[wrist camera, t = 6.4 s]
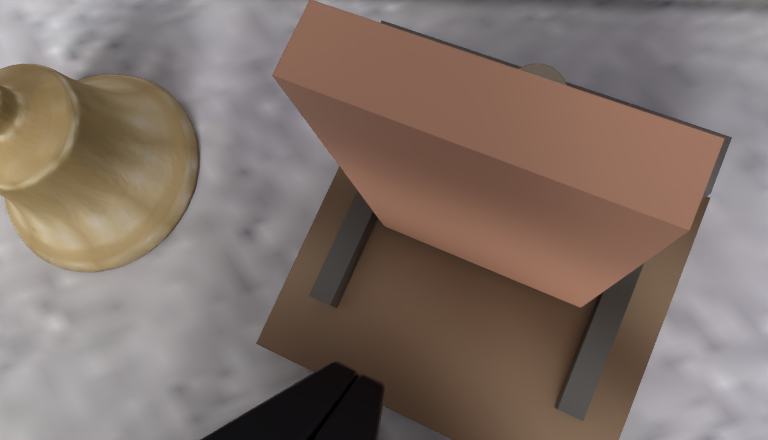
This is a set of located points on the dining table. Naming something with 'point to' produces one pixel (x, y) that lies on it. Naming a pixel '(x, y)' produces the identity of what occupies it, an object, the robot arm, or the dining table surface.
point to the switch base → (471, 323)
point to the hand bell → (93, 165)
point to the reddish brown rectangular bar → (495, 155)
